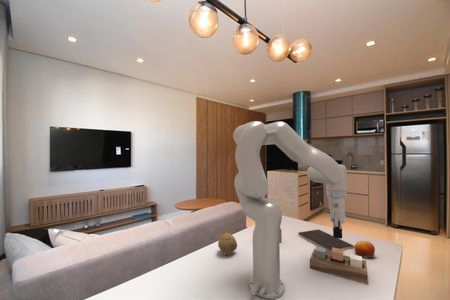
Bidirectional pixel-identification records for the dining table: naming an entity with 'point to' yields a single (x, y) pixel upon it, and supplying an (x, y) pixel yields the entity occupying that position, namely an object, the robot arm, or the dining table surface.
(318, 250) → the slate key
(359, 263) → the cream key
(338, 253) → the terracotta key
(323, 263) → the wooden key base
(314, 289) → the dining table surface
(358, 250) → the fruit
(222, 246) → the natural sponge
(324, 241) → the hardcover book
